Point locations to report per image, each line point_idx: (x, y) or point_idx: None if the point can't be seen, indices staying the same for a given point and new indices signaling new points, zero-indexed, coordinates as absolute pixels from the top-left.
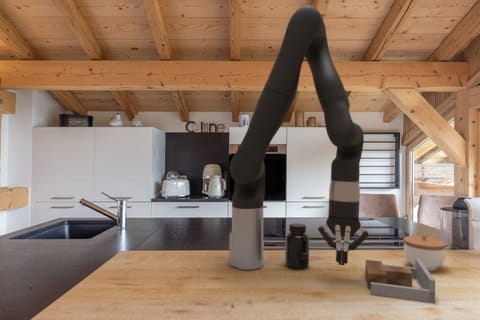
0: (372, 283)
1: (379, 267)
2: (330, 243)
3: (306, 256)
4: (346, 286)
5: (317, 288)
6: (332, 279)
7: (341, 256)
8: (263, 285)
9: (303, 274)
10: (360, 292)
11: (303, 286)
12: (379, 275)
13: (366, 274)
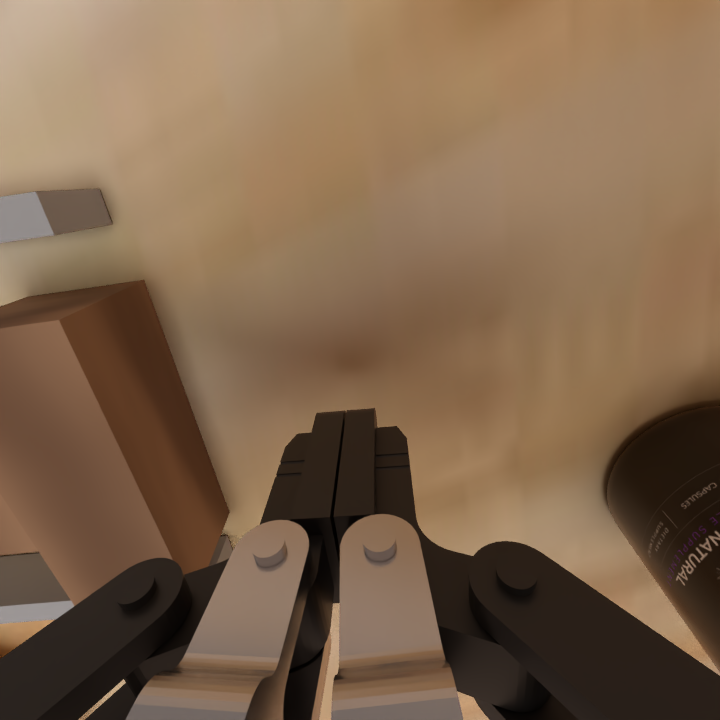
0: (26, 204)
1: (38, 494)
2: (550, 605)
3: (687, 517)
4: (298, 259)
5: (518, 93)
6: (416, 343)
7: (341, 463)
8: None
9: (642, 341)
10: (177, 191)
11: (649, 74)
12: None
13: (191, 464)
